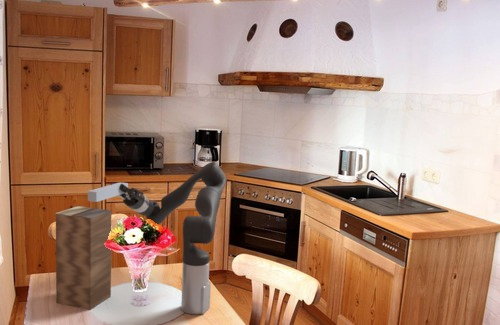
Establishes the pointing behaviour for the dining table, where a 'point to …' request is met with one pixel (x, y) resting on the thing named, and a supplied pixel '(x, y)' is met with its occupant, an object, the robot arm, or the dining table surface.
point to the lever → (105, 192)
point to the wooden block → (83, 257)
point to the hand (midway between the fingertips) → (115, 185)
